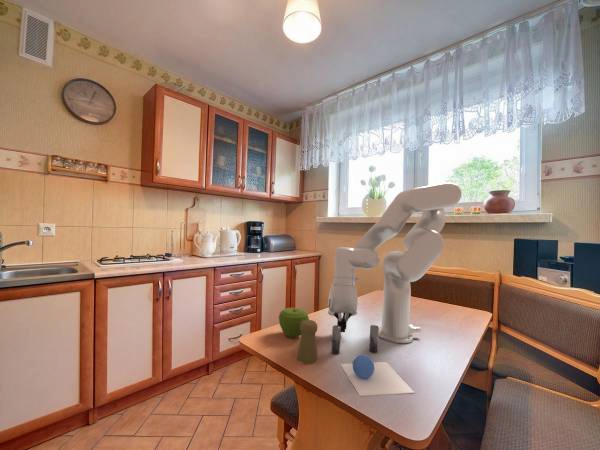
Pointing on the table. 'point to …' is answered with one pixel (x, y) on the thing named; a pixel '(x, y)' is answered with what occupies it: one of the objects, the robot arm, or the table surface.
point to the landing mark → (377, 381)
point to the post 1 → (336, 339)
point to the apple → (292, 321)
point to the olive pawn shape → (307, 342)
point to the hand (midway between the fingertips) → (341, 330)
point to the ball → (363, 366)
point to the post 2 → (373, 339)
